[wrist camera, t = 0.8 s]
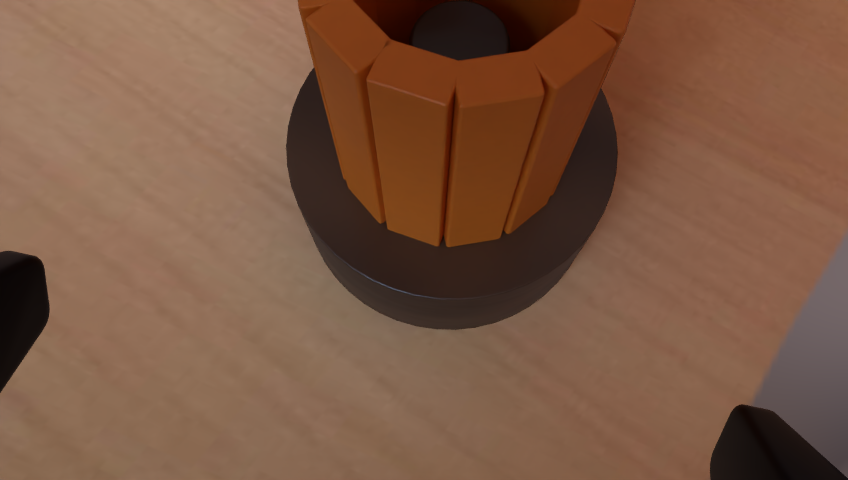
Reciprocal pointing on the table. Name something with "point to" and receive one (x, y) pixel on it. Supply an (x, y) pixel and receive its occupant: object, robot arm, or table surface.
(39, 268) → the robot arm
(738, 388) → the table surface
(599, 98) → the stake stand
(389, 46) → the orange slatted cup
